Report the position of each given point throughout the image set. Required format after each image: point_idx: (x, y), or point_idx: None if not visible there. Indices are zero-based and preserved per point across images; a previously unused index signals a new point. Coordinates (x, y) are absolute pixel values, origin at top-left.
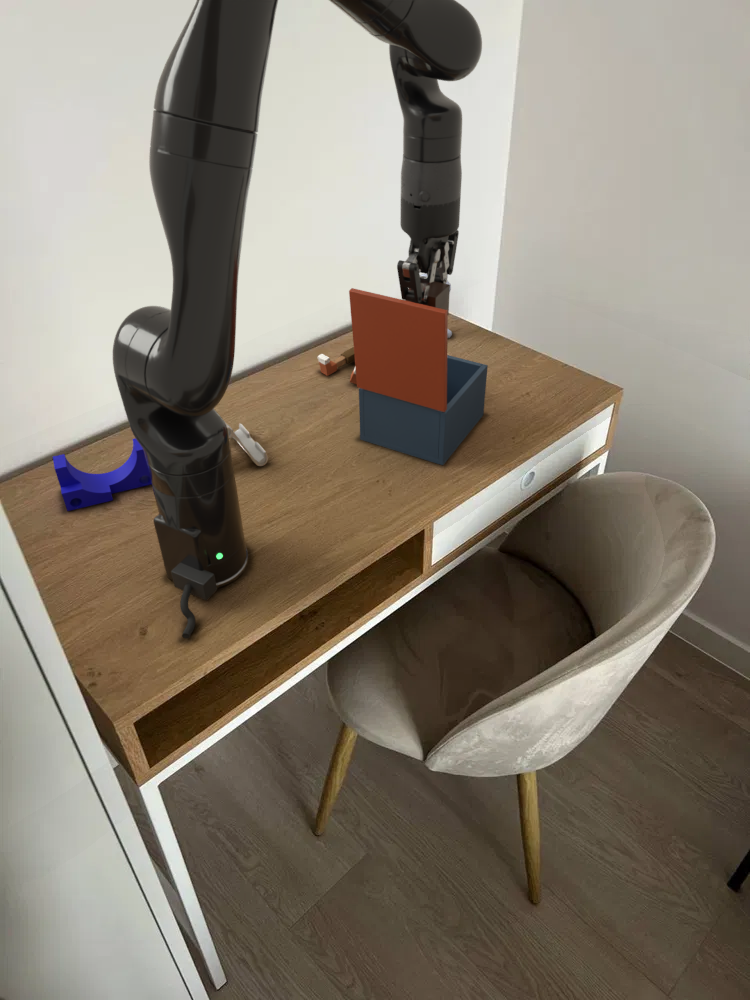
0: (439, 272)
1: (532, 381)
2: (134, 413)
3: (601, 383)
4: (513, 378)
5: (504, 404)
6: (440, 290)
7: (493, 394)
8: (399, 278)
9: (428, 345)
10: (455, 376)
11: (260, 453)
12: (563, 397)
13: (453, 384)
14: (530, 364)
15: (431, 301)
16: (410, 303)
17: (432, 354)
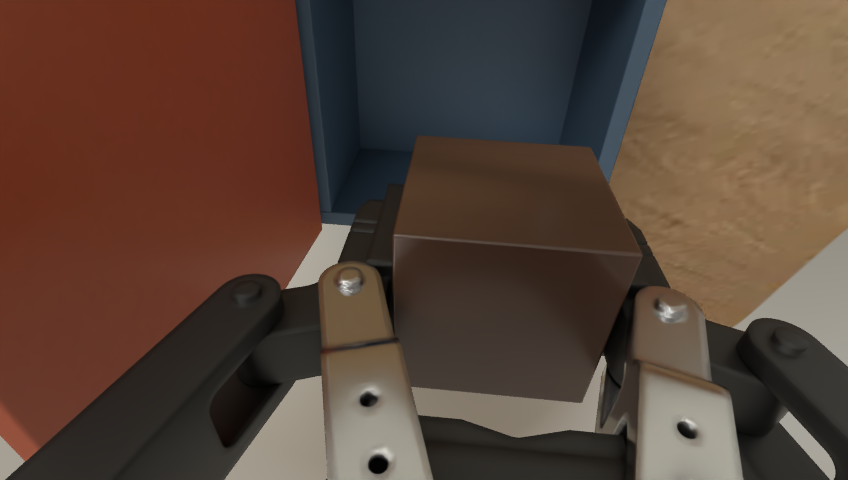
0: (601, 428)
1: (735, 219)
2: None
3: (737, 323)
4: (746, 181)
5: (619, 193)
6: (490, 384)
7: (660, 161)
8: (64, 434)
9: None
10: (585, 139)
11: None
12: (671, 280)
13: (580, 123)
14: (825, 198)
15: None
16: (22, 448)
17: None
